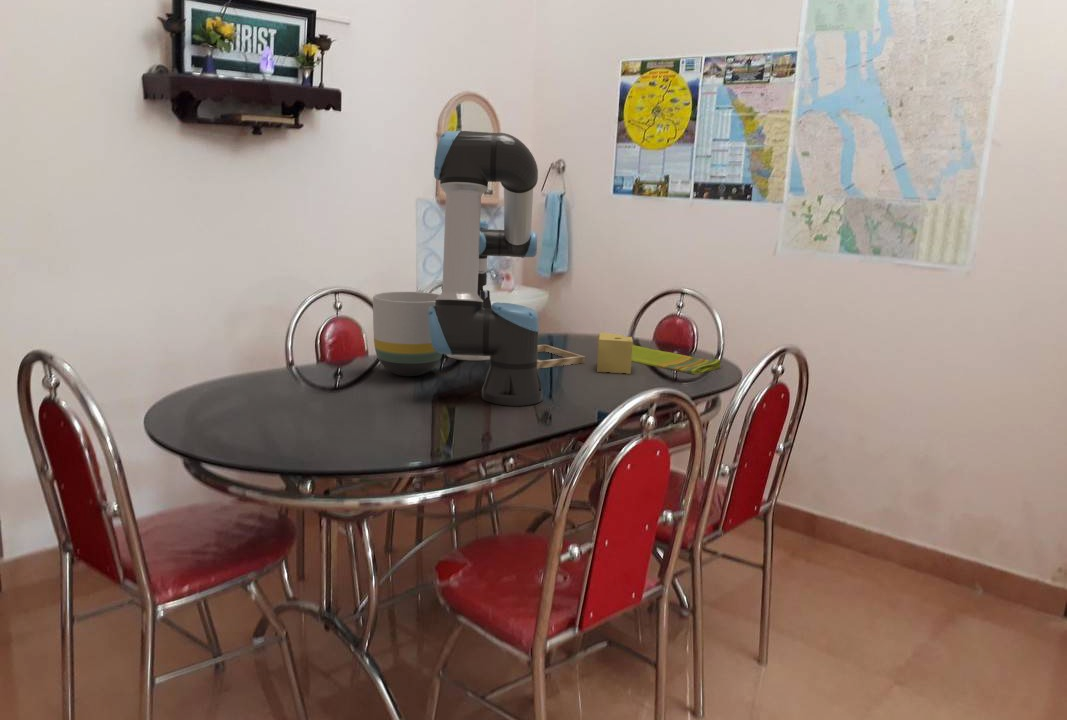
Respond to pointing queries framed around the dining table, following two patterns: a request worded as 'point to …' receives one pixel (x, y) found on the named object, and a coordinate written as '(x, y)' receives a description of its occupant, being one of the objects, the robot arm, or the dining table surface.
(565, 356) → the wooden frame
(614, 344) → the cheese
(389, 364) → the planter
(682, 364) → the dish towel
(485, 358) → the bowl
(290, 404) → the dining table surface
